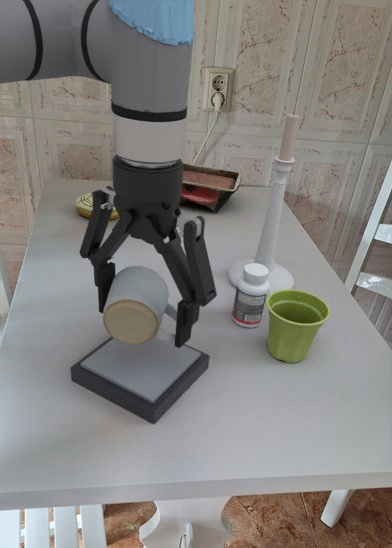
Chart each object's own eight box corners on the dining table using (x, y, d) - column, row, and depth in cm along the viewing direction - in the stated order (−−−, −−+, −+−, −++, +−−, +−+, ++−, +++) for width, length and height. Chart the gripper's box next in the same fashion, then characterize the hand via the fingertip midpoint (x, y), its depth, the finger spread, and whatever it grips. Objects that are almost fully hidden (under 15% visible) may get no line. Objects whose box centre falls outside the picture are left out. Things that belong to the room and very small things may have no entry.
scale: (69, 379, 68) (68, 363, 66) (130, 332, 78) (131, 316, 76) (154, 424, 63) (155, 408, 61) (208, 367, 72) (210, 352, 71)
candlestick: (232, 258, 100) (257, 98, 81) (294, 269, 99) (333, 109, 80) (223, 290, 90) (249, 115, 71) (292, 302, 89) (337, 128, 70)
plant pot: (276, 376, 72) (288, 329, 67) (246, 339, 79) (255, 293, 74) (327, 364, 76) (343, 318, 70) (295, 329, 82) (307, 285, 77)
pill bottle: (238, 307, 86) (247, 257, 80) (267, 316, 84) (278, 266, 78) (226, 322, 82) (234, 271, 76) (256, 332, 81) (266, 281, 75)
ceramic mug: (100, 346, 61) (99, 294, 57) (112, 310, 68) (112, 260, 63) (184, 355, 62) (190, 304, 57) (188, 318, 68) (193, 270, 63)
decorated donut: (90, 200, 117) (89, 185, 114) (131, 209, 115) (132, 194, 112) (68, 216, 109) (67, 200, 106) (113, 226, 107) (112, 209, 104)
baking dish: (223, 227, 116) (236, 187, 110) (154, 202, 117) (163, 160, 112) (235, 210, 128) (247, 173, 122) (172, 187, 129) (181, 149, 123)
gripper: (266, 176, 50) (236, 344, 63) (85, 125, 58) (92, 283, 72) (231, 196, 44) (207, 375, 58) (38, 137, 53) (56, 305, 66)
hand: (143, 324), depth 65 cm, fingers closed on ceramic mug, 11 cm apart
